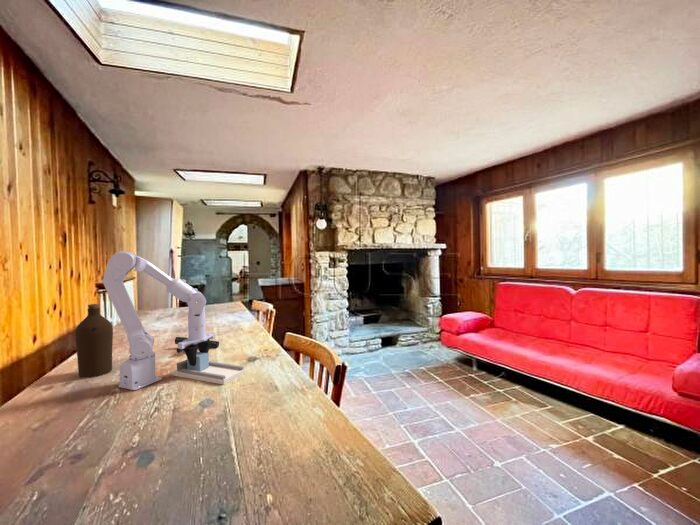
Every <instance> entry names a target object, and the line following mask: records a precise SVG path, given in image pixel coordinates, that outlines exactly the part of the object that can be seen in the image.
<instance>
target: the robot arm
mask: <svg viewBox="0 0 700 525" xmlns="http://www.w3.org/2000/svg"><path fill="white" fill-rule="evenodd" d="M132 270H133V271H134V272H140V273H145V274H146V275H149V276H150V277H151V278H152V279H154V280H156V281H157V282H160V283H161V284H163V285H164V286H166V291H167V292H168V294H171V295H172V296H174V297H175V298H176V299H177V300H179V301H181V302H183V303H186V304H187V306H188V312H187V326H188V327H187V332H188V333H187V336H188V337H187V338H188V339H186V340H184V341H182V342H180V343H178V344H177V348H178V349H182V350H183V351H184V352H183V351H182V352H183V353H184V354H185V356H186V359H187V358H188V361H189V364H190V365H191V366H195V365H196V354H197V352H202V353H209V350H210V347H211V345H212V341H213V339H216V334H215V333H214V332H209V333H207V325H206V324H207V322H206V321H207V320H206V319H207V318H206V307H205V306H206V305H207V298H206V297H205V296H204V294H203V293H202V292H201V291H199V290H198V288H196V287H195V288H194V287H193V286H191V285H189V284H188V283H186V282H187V280H185V279H184V278H183V279H181V278H179V277H178V278H173V277H171V276H169V275H168V274H167V273H166V272H164V271H162V270H161V269H160V268H158V267H157V266H156V265H155V264H153V263H152V262H151V261H149V260H147V259H145V258H143V257H141V256H139V255H136V254H135V253H134V252H132V251H129V250H128V251H127V250H121V251H117V252H114V254H113V255H112V256H111V257H110V258H109V260H108V261H107V265H106V268H105V272H104V274H103V279H102V284H103V286H104V288H105V290H106V292H107V294H108V296H109V299H110V301H111V302H112V305H113V307H114V309H115V312H116V314H117V316H118V317H119V320H120V322H121V324H122V327H123V328H124V330H125V333H126V338H127V341H128V344H129V347H128V348H129V349H128V352H129V357H128V359H127V360H125V361H123V362H121V364H120V365H119V385H118V387H119V388H122V389H127V390H132V391H137V390H140V389H142V388H144V387H148V386H149V385H152V384H153V383H156V382H158V381H161V380H163V378H162V377H159V376H157V375H156V373H157V372H156V369H157V368H156V352H155V351H154V350H153V348H154V347H153V346H154V342H155V340H154V336H152V335H151V334H150V333H148V331H147V330H146V328H145V326H144V325H143V323H142V321H141V319H140V317H139V315H138V312H137V310H136V308H135V306H134V303H133V301H132V299H131V296H130V295H129V293H128V290H127V288H126V286H125V284H124V281H125V279H126V278H127V275H129V273H130V272H132ZM209 340H211V341H209ZM194 344H198V347H195V346H194Z"/></svg>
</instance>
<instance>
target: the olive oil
mask: <svg viewBox="0 0 700 525" xmlns="http://www.w3.org/2000/svg"><path fill="white" fill-rule="evenodd" d="M87 307H88V308H87V316H85V318H84V319H83V320H81V322H80V323H79V324H78V325H77V326H76V328H75V331H74V338H75V340H74V341H75V348H76V349H75V350H76V356H77V367H78V368H77V370H78V371H77V373H78V377H79V378H82V377H89V378H95V376H96V377H100V376H104V375H107V374H109V373H110V372H112V371H113V340H114V339H113V338H114V337H113V336H114V329H113V328H114V327H113V324H112V323H111V321H110V320H108V319H107V318H105V317H104V316H103V315H102V314H101V307H100V303H90V304H88V305H87ZM103 374H104V375H103Z"/></svg>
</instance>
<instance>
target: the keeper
mask: <svg viewBox="0 0 700 525" xmlns="http://www.w3.org/2000/svg"><path fill="white" fill-rule="evenodd" d="M209 355H210V354H209V352H208V353H202V352H199V351H197V354H196V365H195V366H191V365H190V364H189V361H188V358H187V357H186V360H187V369H192V370H197V371H201V370H203V369H206V368H208V367H209V361H210V356H209Z"/></svg>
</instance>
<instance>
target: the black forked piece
mask: <svg viewBox="0 0 700 525" xmlns="http://www.w3.org/2000/svg"><path fill="white" fill-rule="evenodd" d="M186 339H188V337H184V336H183V337H182V336H181V337H180V336H175V339H174V344H175V345H178V343H180V342H182V341H184V340H186ZM209 341H212V345H211V347H210V348H211V349H218V348H219V346H220V341H218V340H212V339H209ZM194 346H195V347H198V344H194ZM181 352H183V353H185V352H184V351H183V350H182V349H178V347H177V348H176V353H181Z"/></svg>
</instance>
